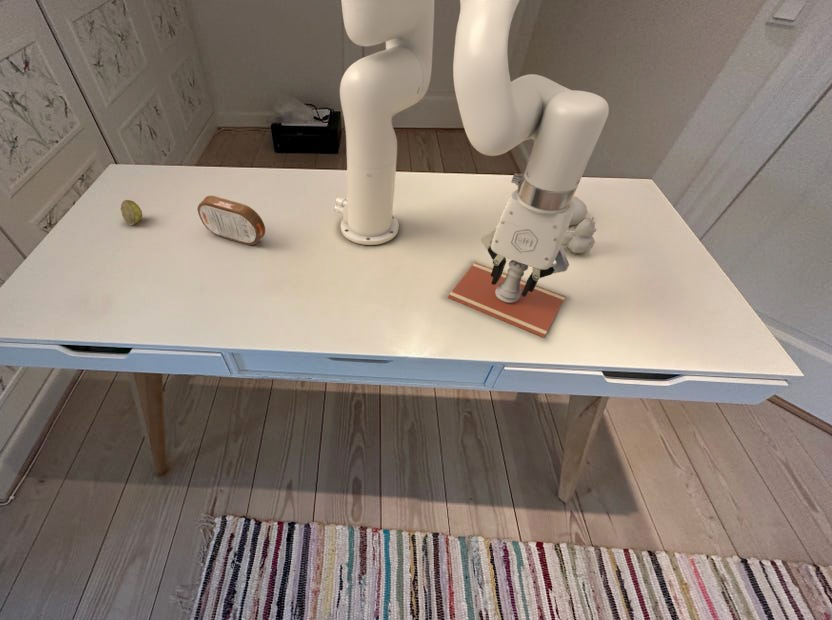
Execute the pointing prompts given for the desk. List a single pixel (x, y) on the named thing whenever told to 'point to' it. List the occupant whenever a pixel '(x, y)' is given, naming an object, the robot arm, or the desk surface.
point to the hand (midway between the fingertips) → (510, 285)
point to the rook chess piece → (511, 283)
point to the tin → (231, 220)
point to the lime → (131, 212)
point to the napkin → (524, 313)
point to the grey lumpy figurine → (581, 237)
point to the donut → (578, 211)
